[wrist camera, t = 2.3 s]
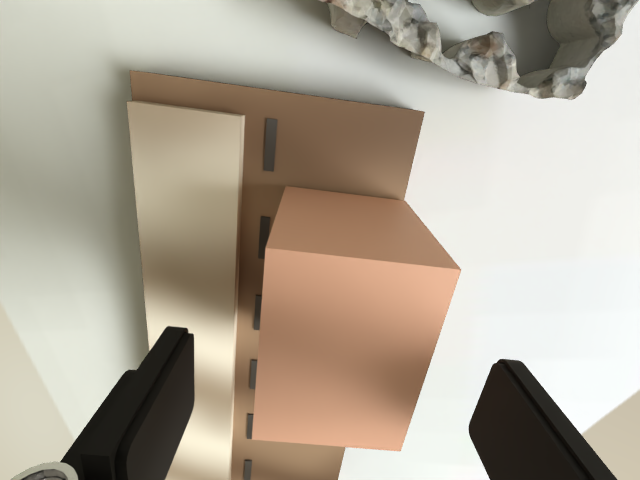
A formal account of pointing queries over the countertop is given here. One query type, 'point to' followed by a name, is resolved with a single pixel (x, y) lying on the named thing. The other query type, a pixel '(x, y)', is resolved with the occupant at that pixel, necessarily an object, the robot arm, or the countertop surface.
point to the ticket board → (241, 237)
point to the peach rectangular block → (347, 319)
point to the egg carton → (497, 40)
